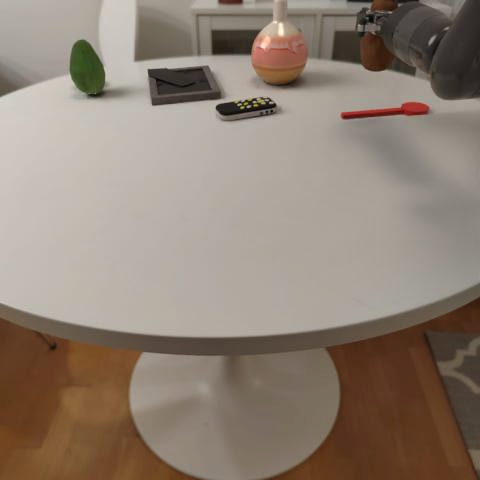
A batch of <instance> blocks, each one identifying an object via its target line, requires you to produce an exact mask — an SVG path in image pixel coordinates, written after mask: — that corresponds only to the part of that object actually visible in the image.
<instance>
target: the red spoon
mask: <svg viewBox="0 0 480 480" xmlns="http://www.w3.org/2000/svg"><path fill="white" fill-rule="evenodd" d="M429 110H430V107H429V105H427V104H426V103H424V102H419V101H418V102H417V101H407V102H404V103H402V104H401V106H399V107H390V108H389V107H388V108H379V109H377V108H376V109H366V110H365V109H364V110H353V111H342V112H340V117H341V119H342V120H346V119H347V120H348V119H359V118H369V117H381V116H382V117H383V116H393V115H406V116H408V117H409V116H410V117H413V116H423V115H424V116H425V115H428V113H429Z"/></svg>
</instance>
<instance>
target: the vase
mask: <svg viewBox="0 0 480 480" xmlns="http://www.w3.org/2000/svg"><path fill="white" fill-rule="evenodd" d="M272 9H273V10H272V20H271V22H269V23H268V24H267V25H265V26H264V28H262V29H261V30H260V31H259V32H258V34H257V36H256V37H255V39H254V41H253V43H252V46H251V52H250V59H251V60H250V61H251V65H252V68H253V70H254V72H255V73H256V75H258V77H260V78H261V79H262V80H263V81H264V82H265V83H267V84H269V85H275V86H281V85H287V84H290V83H292V82H293V81H294V80H295V79H296V78H298V77H299V76H300V75H301V74H302V73H303V71H304V70H305V68H306V66H307V63H308V57H309V54H308V53H309V50H308V44H307V41H306V38H305V37H304V35H303V34H302V33H301V31H300V29H299V28H297V27H296V26H295V25H294V24H293V23H292V22H290V21H289V20H288V0H273V8H272Z"/></svg>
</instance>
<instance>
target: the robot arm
mask: <svg viewBox="0 0 480 480" xmlns="http://www.w3.org/2000/svg"><path fill="white" fill-rule="evenodd" d="M372 22H373V23H372ZM354 29H355V30H354V31H355V34H356V37H357V38H358V37H359V38H361V37H364V36H365V35H367V31H371V32H372V34H375V35H377V36H381V37H382V38H383V41H384V44H385V46H386V48H387V49H388V51H389V52H391V53H392V54H393V55H395V57H397V59H399V60H401V61H402V62H404V63H405V64H406V65H408V66H410V67H412V68H416V69H418V70H419V71H421V72H422V73H424V74H425V75H427V76H429V77H428V78H429V84H430V88H431V91H432V92H433V94H434V95H435V96H436V97H437V98H438V99H441V100H443V101H450V102H451V101H452V102H453V101H464V100H475V99H477V100H478V99H480V0H464V1H463V3H462V5H461V7H460V8H459V10H458V12H457V13H456V15H455V17H454V18H453V17H450V16H448V14H446V13H445V12H443V11H442V10H440V9H437V8H434V7H432V6H430V5H428V4H425V3H423V2H420V1H415V0H411V1H406V2H404V3H402V4H400V5H398V7H397V8H396V9H395V10H393V11H386V10H376V11H373V10H371V9H370V8H369V7H368V6H367V7H366V6H363V7H361V9H360V10H359V11H358V12H356V20H355V27H354Z"/></svg>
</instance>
